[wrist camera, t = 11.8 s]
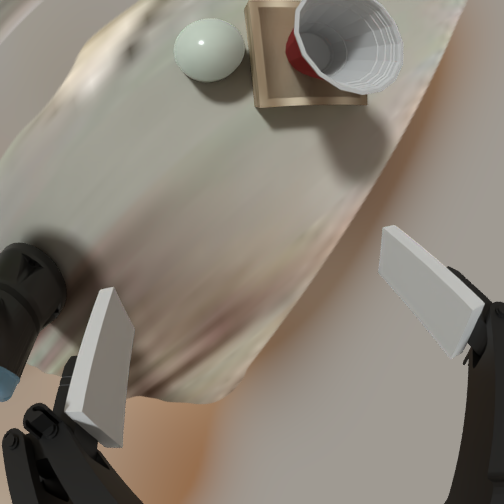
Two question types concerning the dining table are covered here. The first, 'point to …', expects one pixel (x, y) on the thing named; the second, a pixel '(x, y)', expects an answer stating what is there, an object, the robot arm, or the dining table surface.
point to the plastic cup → (346, 44)
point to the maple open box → (283, 61)
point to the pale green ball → (209, 50)
